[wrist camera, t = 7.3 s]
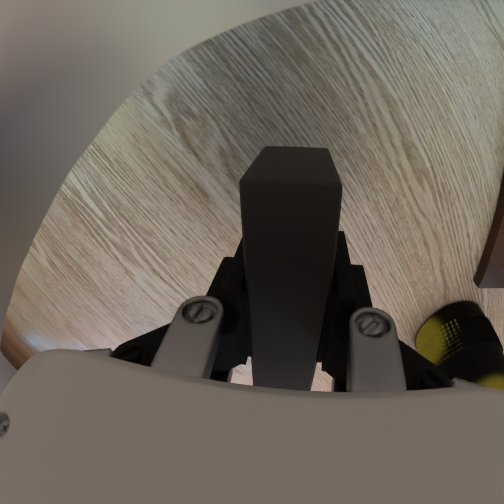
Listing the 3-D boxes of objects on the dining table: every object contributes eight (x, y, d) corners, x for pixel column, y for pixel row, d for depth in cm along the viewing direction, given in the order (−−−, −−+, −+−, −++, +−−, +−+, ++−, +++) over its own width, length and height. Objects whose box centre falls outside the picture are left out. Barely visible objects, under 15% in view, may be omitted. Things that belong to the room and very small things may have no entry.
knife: (264, 145, 9) (237, 179, 6) (328, 148, 9) (343, 184, 6) (267, 420, 20) (259, 464, 16) (294, 423, 19) (289, 467, 16)
